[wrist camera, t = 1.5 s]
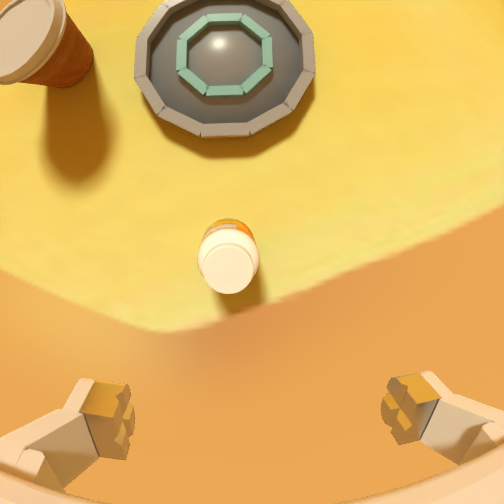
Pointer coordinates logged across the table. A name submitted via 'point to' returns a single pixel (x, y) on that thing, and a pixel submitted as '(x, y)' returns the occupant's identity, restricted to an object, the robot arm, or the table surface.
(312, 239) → the table surface
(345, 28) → the table surface
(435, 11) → the table surface
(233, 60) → the round tray
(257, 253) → the supplement bottle
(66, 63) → the disposable coffee cup
